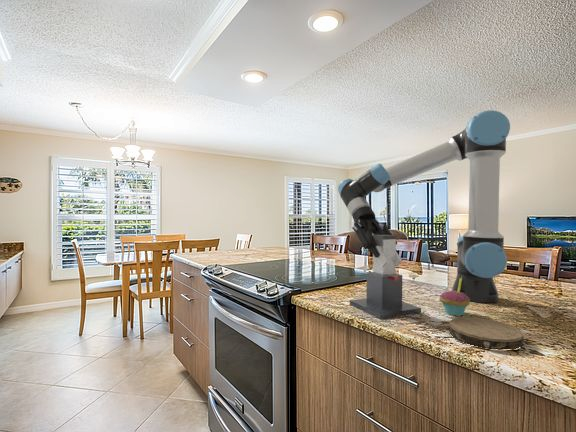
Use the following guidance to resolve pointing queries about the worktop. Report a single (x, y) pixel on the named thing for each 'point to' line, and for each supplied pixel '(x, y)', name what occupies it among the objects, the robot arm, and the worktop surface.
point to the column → (389, 250)
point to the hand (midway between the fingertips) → (392, 263)
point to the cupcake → (455, 301)
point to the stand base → (384, 297)
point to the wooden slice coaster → (486, 333)
